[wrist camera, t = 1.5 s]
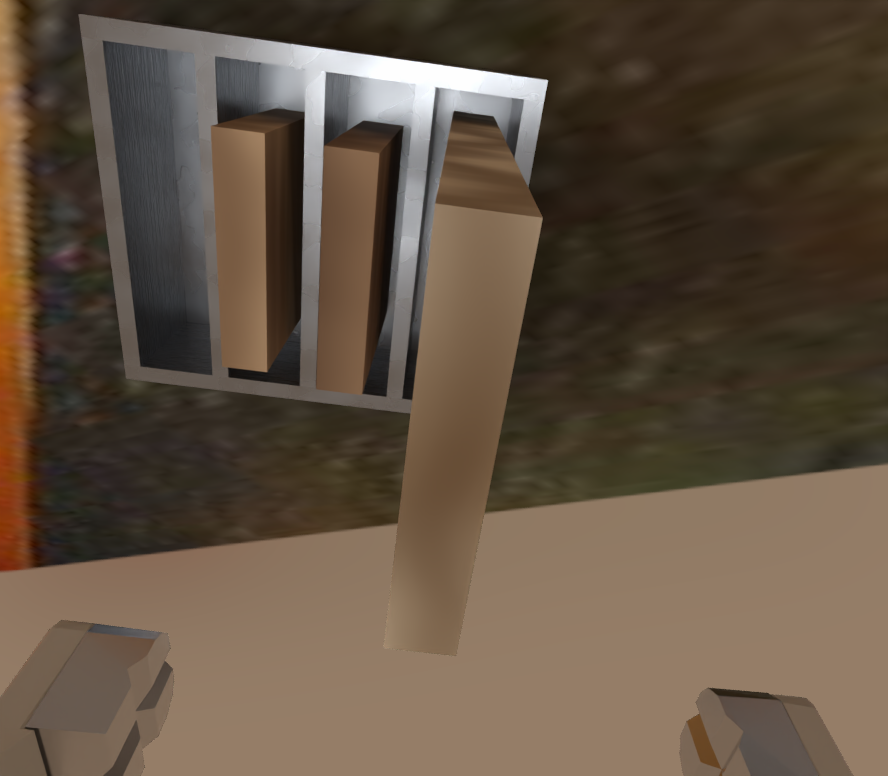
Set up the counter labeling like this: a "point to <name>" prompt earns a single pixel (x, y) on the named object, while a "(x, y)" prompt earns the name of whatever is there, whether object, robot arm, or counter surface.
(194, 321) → the rack
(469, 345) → the birch sheet
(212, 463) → the counter surface
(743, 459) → the counter surface
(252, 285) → the oak offcut
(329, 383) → the walnut offcut
